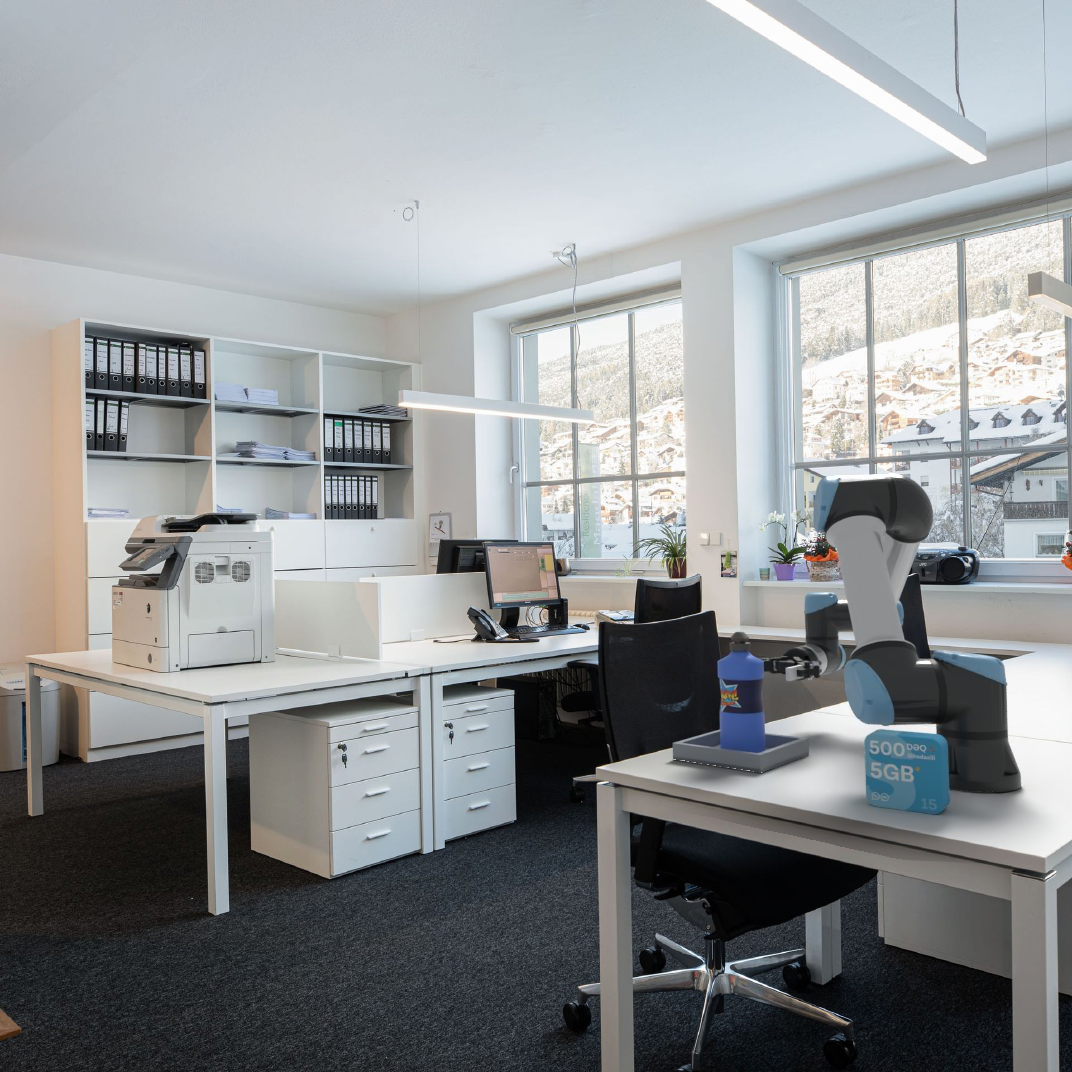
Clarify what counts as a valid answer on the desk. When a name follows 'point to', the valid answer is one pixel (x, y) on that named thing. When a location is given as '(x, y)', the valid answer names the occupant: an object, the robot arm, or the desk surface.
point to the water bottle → (741, 698)
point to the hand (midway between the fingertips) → (757, 672)
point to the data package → (907, 771)
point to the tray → (741, 752)
